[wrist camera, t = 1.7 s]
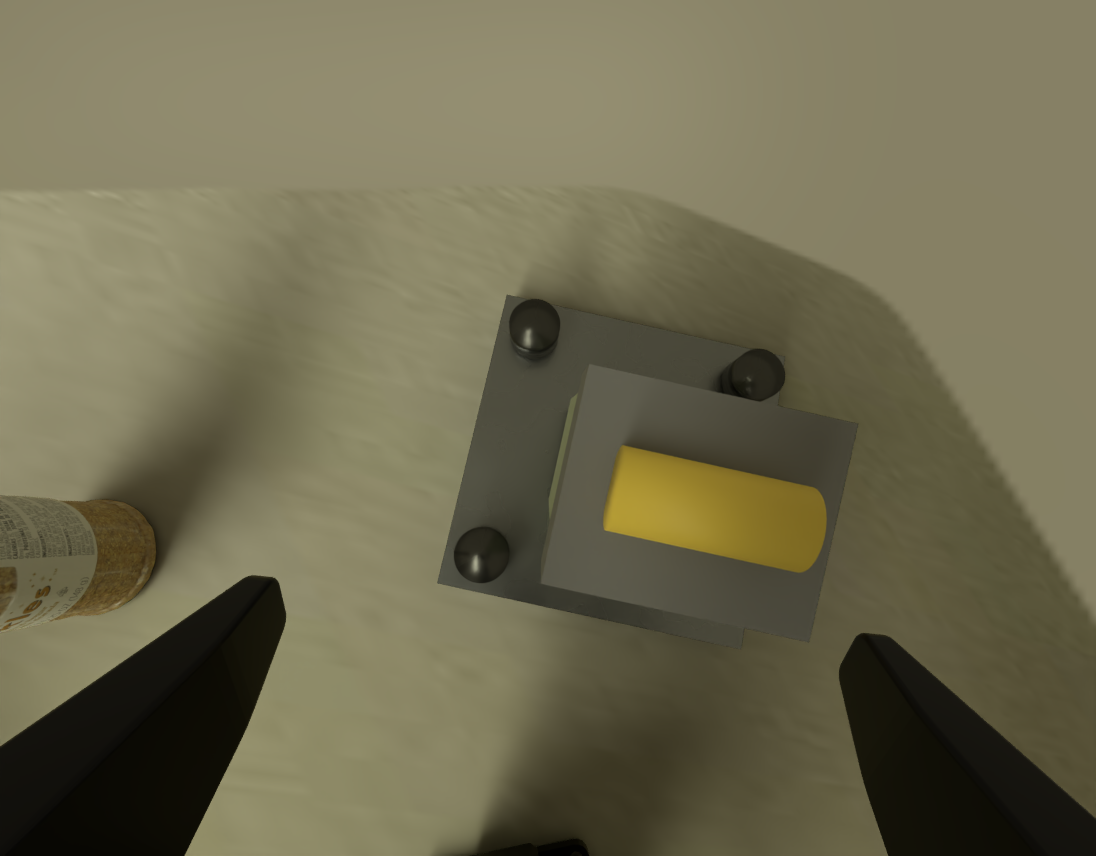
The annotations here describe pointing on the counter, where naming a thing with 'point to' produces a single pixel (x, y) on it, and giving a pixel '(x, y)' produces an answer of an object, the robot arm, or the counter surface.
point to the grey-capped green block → (695, 502)
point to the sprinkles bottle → (69, 558)
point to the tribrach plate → (535, 437)
